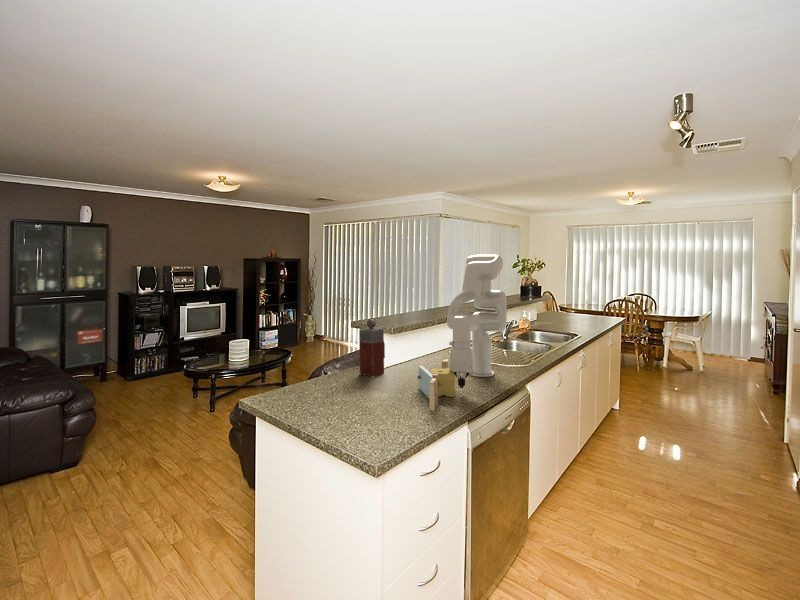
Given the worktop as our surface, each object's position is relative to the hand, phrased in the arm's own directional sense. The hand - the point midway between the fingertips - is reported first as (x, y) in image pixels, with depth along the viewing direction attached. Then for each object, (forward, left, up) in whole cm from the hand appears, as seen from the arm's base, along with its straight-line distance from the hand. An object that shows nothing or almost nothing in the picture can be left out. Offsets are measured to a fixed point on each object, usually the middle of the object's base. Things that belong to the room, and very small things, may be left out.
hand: (461, 387), depth 183 cm
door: (+4, -14, -3) cm, 15 cm away
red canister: (-26, -48, -4) cm, 55 cm away
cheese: (0, -8, -3) cm, 9 cm away
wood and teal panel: (+3, -9, -3) cm, 10 cm away
